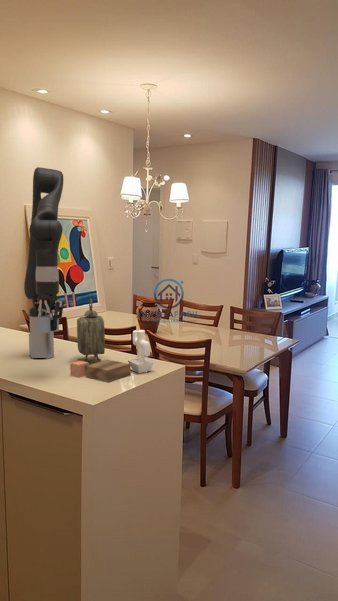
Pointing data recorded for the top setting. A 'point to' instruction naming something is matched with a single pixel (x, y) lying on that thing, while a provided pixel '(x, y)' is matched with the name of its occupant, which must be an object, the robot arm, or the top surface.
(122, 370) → the plinth
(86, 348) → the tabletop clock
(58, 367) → the top surface
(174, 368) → the top surface
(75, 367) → the terracotta block
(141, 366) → the figurine
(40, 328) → the blue block
